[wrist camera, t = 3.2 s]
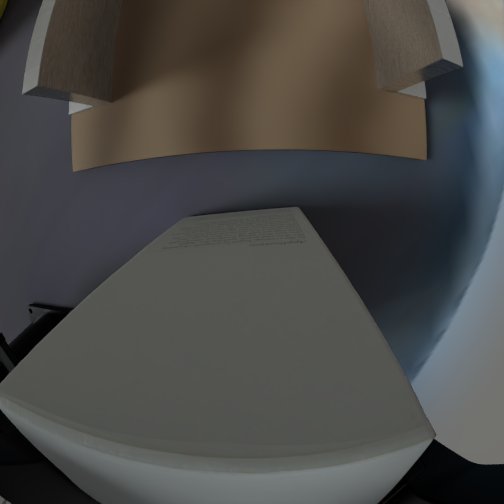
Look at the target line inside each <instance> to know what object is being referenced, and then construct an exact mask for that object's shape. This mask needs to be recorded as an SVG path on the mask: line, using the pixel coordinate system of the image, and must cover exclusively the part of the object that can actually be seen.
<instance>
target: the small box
mask: <svg viewBox="0 0 504 504" xmlns="http://www.w3.org/2000/svg"><path fill="white" fill-rule="evenodd" d="M0 409H1V411H2V412H3V413H4V414H5V415H6V416H7V417H8V419H9V420H10V421H11V422H12V423H13V424H14V425H15V426H16V427H17V429H18V430H19V431H20V432H21V433H22V434H23V435H24V436H25V437H26V438H27V439H28V440H29V441H30V442H31V443H32V444H33V445H34V446H35V447H36V448H37V449H38V450H39V451H40V452H41V453H42V454H43V455H44V456H45V457H47V458H48V459H49V460H50V461H51V462H52V463H53V464H54V465H55V466H56V467H58V468H59V469H60V470H61V471H62V472H63V473H64V474H65V475H66V476H67V477H68V478H69V479H70V480H71V481H72V482H73V483H75V484H76V485H77V486H78V487H79V488H80V489H82V490H83V491H84V492H86V493H87V494H88V495H90V496H91V497H92V498H94V499H95V500H97V501H98V502H100V503H101V504H378V503H379V502H380V501H381V500H382V499H383V498H384V497H385V496H386V495H387V494H388V493H389V492H390V491H391V490H392V489H393V488H394V487H395V485H396V484H397V483H398V482H399V481H400V480H401V479H402V477H403V476H404V475H405V474H406V473H407V472H408V470H409V469H410V468H411V467H412V465H413V464H414V463H415V462H416V461H417V459H418V458H419V457H420V456H421V455H422V453H423V452H424V451H425V450H426V448H427V447H428V446H429V444H430V443H431V442H432V440H433V439H434V438H435V436H436V433H435V431H434V429H433V428H432V426H431V424H430V422H429V420H428V419H427V417H426V415H425V413H424V411H423V409H422V407H421V405H420V403H419V400H418V398H417V396H416V394H415V392H414V390H413V388H412V386H411V384H410V382H409V381H408V379H407V377H406V375H405V373H404V372H403V370H402V368H401V366H400V364H399V363H398V361H397V359H396V357H395V356H394V354H393V352H392V350H391V349H390V347H389V345H388V343H387V341H386V340H385V338H384V336H383V334H382V333H381V331H380V329H379V328H378V326H377V324H376V323H375V321H374V319H373V318H372V316H371V314H370V313H369V311H368V309H367V308H366V306H365V304H364V303H363V301H362V300H361V298H360V296H359V295H358V293H357V292H356V290H355V289H354V287H353V286H352V284H351V283H350V281H349V279H348V278H347V276H346V275H345V273H344V272H343V270H342V269H341V268H340V266H339V264H338V262H337V261H336V260H335V258H334V257H333V256H332V254H331V253H330V251H329V249H328V248H327V246H326V245H325V244H324V242H323V241H322V239H321V238H320V237H319V235H318V233H317V232H316V231H315V229H314V228H313V226H312V225H311V224H310V222H309V220H308V219H307V218H306V216H305V215H304V214H303V212H302V211H301V209H300V208H299V207H287V208H275V209H263V210H251V211H241V212H230V213H221V214H210V215H201V216H192V217H185V218H183V219H182V220H180V221H179V222H177V223H176V224H175V225H173V226H172V227H171V228H169V229H168V230H167V231H165V232H164V233H163V234H161V235H160V236H159V237H157V238H156V239H155V240H154V241H153V242H151V243H150V244H149V245H147V246H146V247H145V248H144V249H143V250H141V251H140V252H139V253H138V254H137V255H136V256H134V257H133V258H132V259H131V260H130V261H128V262H127V263H126V264H125V265H123V266H122V267H121V268H120V269H118V270H117V271H116V272H115V273H114V274H113V275H111V276H110V277H109V278H108V279H107V280H105V281H104V282H103V283H102V284H101V285H100V286H99V287H97V288H96V289H95V290H94V291H93V292H92V293H91V294H90V295H89V296H87V297H86V298H85V299H84V300H83V301H82V302H81V303H80V304H79V305H78V306H77V307H75V308H74V309H73V310H72V311H71V312H70V313H69V314H68V315H67V316H66V317H65V318H64V319H63V320H62V321H61V322H60V323H59V324H58V325H57V326H56V327H55V328H54V329H53V330H52V331H51V332H49V333H48V334H47V335H46V336H45V337H44V338H43V339H42V340H41V341H40V342H39V343H38V344H37V345H36V346H35V347H34V348H33V349H32V350H31V351H30V353H29V354H28V355H27V356H26V357H25V358H24V359H23V360H22V361H21V362H20V363H19V364H18V365H17V366H16V367H15V368H14V369H13V370H12V371H11V372H10V373H9V374H8V375H7V377H6V378H5V379H4V380H3V381H2V382H1V383H0Z"/></svg>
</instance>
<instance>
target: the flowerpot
mask: <svg viewBox="0 0 504 504" xmlns="http://www.w3.org/2000/svg"><path fill="white" fill-rule="evenodd" d="M7 1H8V0H0V19H1V17H2V15H3V12H4V10H5V7H6V4H7Z"/></svg>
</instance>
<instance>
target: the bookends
mask: <svg viewBox="0 0 504 504" xmlns="http://www.w3.org/2000/svg"><path fill="white" fill-rule="evenodd" d="M363 1H364V5H365V10H366V14H367V19H368V24H369V29H370V35H371V40H372V47H373V53H374V60H375V68H376V77H377V87H378V90H380V91H386V92H391V93H396V94H401V95H405V96H410V97H414V98H418V99H422V100H424V99H426V89H425V81H426V80H428V79H431V78H433V77H436V76H439V75H442V74H444V73H447V72H450V71H453V70H456V69H459V68H462V67H463V63H462V58H461V53H460V49H459V45H458V41H457V37H456V34H455V30H454V27H453V23H452V20H451V17H450V14H449V11H448V8H447V6H446V3H445V0H363ZM121 5H122V0H43V2H42V5H41V8H40V11H39V14H38V17H37V20H36V24H35V27H34V31H33V35H32V39H31V43H30V48H29V52H28V57H27V63H26V69H25V75H24V82H23V91H22V94H23V95H31V96H39V97H45V98H52V99H58V100H64V101H69V115H75V114H78V113H80V112H83V111H87V110H90V109H93V108H96V107H99V106H103V105H106V104H110V103H112V80H113V65H114V54H115V45H116V36H117V29H118V22H119V16H120V10H121Z"/></svg>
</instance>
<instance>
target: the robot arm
mask: <svg viewBox="0 0 504 504" xmlns="http://www.w3.org/2000/svg"><path fill="white" fill-rule="evenodd" d="M27 311H28V313H29V316H30V318H31V321H32V323H31V324H30V325H29V326H28V327H27V328H26V329H25V330H24V331H23V332H22V333H21V334H20V335H18V336H17V337H16V338H15V339H14V340H13V341H12V342H11V343H10V344H9V345H8V344H7V342H6V341H5V337H4V336H3V334H2V333H0V383H1V382H2V381H3V380H4V379H5V378H6V377H7V375H8V374H9V373H10V372H11V371H12V370H13V369H14V368H15V367H16V366H17V365H18V364H19V363H20V362H21V361H22V360H23V359H24V358H25V357H26V356H27V355H28V354H29V353H30V351H31V350H32V349H33V348H34V347H35V346H36V345H37V344H38V343H39V342H40V341H41V340H42V339H43V338H44V337H45V336H46V335H47V334H48V333H49V332H51V331H52V330H53V329H54V328H55V327H56V326H57V325H58V324H59V323H60V322H61V321H62V320H63V319H64V318H65V317H66V316H67V315H68V314H69V313H70V312H71V311H72V310H68V309H61V308H54V307H47V306H41V305H35V304H30V305H29V306H27ZM0 504H101V503H100V502H98V501H97V500H95V499H94V498H92V497H91V496H90V495H88V494H87V493H86V492H84V491H83V490H82V489H80V488H79V487H78V486H77V485H76V484H75V483H73V482H72V481H71V480H70V479H69V478H68V477H67V476H66V475H65V474H64V473H63V472H62V471H61V470H60V469H59V468H58V467H56V466H55V465H54V464H53V463H52V462H51V461H50V460H49V459H48V458H47V457H45V456H44V455H43V454H42V453H41V452H40V451H39V450H38V449H37V448H36V447H35V446H34V445H33V444H32V443H31V442H30V441H29V440H28V439H27V438H26V437H25V436H24V435H23V434H22V433H21V432H20V431H19V430H18V429H17V427H16V426H15V425H14V424H13V423H12V422H11V421H10V420H9V419H8V417H7V416H6V415H5V414H4V413H3V412H2V411H1V409H0ZM378 504H504V464H492V465H483V464H477V463H473V462H471V461H468V460H466V459H465V458H463V457H461V456H460V455H458V454H456V453H455V452H453V451H452V450H450V449H448V448H447V447H445V446H444V445H442V444H441V443H440V442H438V441H437V440H435V439H433V440H432V442H431V443H430V444H429V446H428V447H427V448H426V450H425V451H424V452H423V453H422V455H421V456H420V457H419V458H418V459H417V461H416V462H415V463H414V464H413V465H412V467H411V468H410V469H409V470H408V472H407V473H406V474H405V475H404V476H403V477H402V479H401V480H400V481H399V482H398V483H397V484H396V485H395V487H394V488H393V489H392V490H391V491H390V492H389V493H388V494H387V495H386V496H385V497H384V498H383V499H382V500H381V501H380V502H379V503H378Z"/></svg>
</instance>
